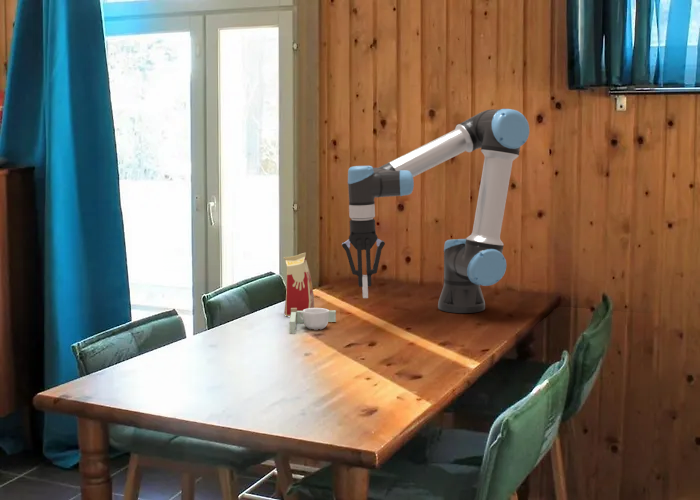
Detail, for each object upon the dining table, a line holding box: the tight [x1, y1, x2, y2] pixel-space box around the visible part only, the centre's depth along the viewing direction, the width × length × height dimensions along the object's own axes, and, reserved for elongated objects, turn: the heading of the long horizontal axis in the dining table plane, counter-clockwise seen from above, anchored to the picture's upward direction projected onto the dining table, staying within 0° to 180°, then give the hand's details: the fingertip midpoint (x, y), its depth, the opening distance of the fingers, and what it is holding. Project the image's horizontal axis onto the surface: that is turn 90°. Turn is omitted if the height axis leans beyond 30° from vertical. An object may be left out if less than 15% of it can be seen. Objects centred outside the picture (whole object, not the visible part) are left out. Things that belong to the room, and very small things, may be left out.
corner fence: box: [289, 308, 337, 334], centre depth 266 cm, size 14×15×4 cm
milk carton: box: [282, 252, 315, 317], centre depth 283 cm, size 9×9×20 cm
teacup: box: [299, 307, 329, 331], centre depth 266 cm, size 10×8×5 cm
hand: (365, 297), depth 267 cm, fingers closed
